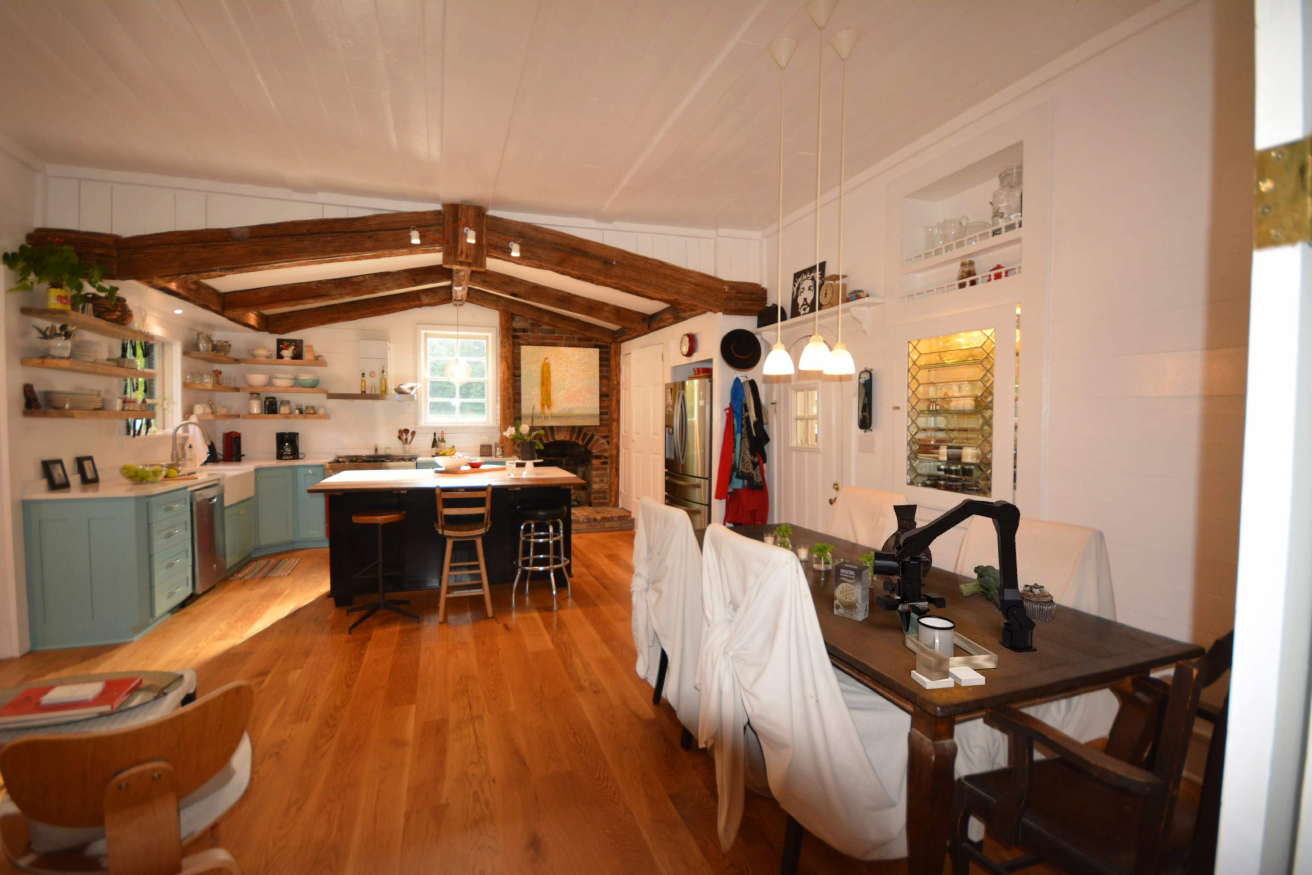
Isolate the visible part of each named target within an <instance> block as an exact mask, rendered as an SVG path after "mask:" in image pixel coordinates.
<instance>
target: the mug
mask: <svg viewBox="0 0 1312 875" xmlns="http://www.w3.org/2000/svg"><path fill="white" fill-rule="evenodd" d="M917 622H918V624H919V641H918V642H920V643H921V644H923V645H924V646H926V647H928V648H929V649H934V650H936V651H938V652H940V653H942V654H944V655H946V656H948V657H949V658H951V657H954V646H955V644H954V632H955V629H956V628H957V623H956V622H955V620H952V619H951V618H948V617H945V616H940V615H935V614H934V615H933V614H926V615H922V616H919V617H918V618H917Z"/></svg>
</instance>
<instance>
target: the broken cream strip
mask: <svg viewBox="0 0 1312 875" xmlns="http://www.w3.org/2000/svg"><path fill="white" fill-rule="evenodd" d="M910 673H911V674H910V676H911V678H912V679H913V680H914V681H915V682H917V683H918V684H919V685H920V686H922V687H923V688H924V689H926V690H930V689H942V688H953V687H955V683H957V684H958V685H959V686H961V687H967V686H982V685H986V677H985V676H983V675H981V673H978V671H975V669H971V668H969V667H954V668H949V678H948V679H943V680H938V681H930V680H929V679H927V678H925V677H923V676H922V675H920V674H918V673H916V669H915V670H911V672H910Z"/></svg>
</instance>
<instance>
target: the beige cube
mask: <svg viewBox="0 0 1312 875" xmlns="http://www.w3.org/2000/svg"><path fill="white" fill-rule="evenodd" d="M915 654H916V656H915V657H916V658H915V659H916V661H915V664H916V665H915V670H916V673H918V674H920V675H922V676H923V677H925V678H927V679H929V680H930V681H938V680H943V679H948V678H949V657H948V656H946V655H944V654H942V653H940V652H938V651H936V650H934V649H931V650H925V651H919V652H916V653H915Z"/></svg>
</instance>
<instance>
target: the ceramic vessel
mask: <svg viewBox="0 0 1312 875" xmlns="http://www.w3.org/2000/svg"><path fill="white" fill-rule="evenodd" d="M892 507H893V510H894V514H895V517H896V520H897V521H896V522H897V529H896V531H895V532H893V533H892V534H891V535H890V536H888V538H887V539H886V540H885V541H884V543H883V545H882V547H881V550H880V551H881V552H893V550H894V549H895V547H896V546H897V545H898V544H899V543H900V538H901V536H902V535H903V534H904V533H906V532H908V531H910V530H913V529H915V528H917V525H918V523H917V522H916V514H917V509H918V504H916V503H913V504H898V505H897V504H893V505H892ZM922 553H923V554H924V555H925V557H926V558H928V559H929V561H930V564H924V563H922V581H923V580H925V579H926V577H927V576H928V574H929V573H930V571H931V569H932V566H933V554H932V551H931V549H930V546H929V547H928V548H926V549H925V550H924V551H923V552H922ZM922 553H921V554H922ZM921 554H919V555H917V556H920V555H921ZM907 558H908V557H907ZM888 577H889V578H890V580H891V581H892V583H897V579H898V578H900V562H899V569H898V573H896V574H894V576H888Z"/></svg>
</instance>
